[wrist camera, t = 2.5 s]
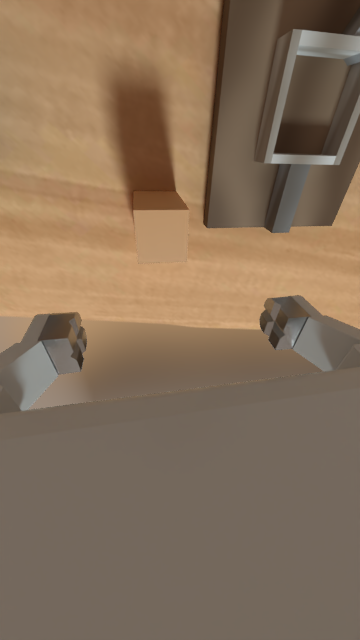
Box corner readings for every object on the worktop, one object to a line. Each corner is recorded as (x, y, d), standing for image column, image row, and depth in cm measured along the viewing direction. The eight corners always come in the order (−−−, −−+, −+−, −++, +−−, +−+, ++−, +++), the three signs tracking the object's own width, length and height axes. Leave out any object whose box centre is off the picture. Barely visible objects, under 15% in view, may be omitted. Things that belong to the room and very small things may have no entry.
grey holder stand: (443, -75, 14) (514, -122, 12) (322, 221, 26) (344, 231, 23) (234, -117, 12) (262, -185, 10) (203, 223, 24) (212, 234, 21)
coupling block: (175, 191, 22) (189, 209, 16) (175, 233, 24) (186, 261, 19) (133, 190, 21) (133, 210, 16) (137, 234, 24) (137, 263, 18)
